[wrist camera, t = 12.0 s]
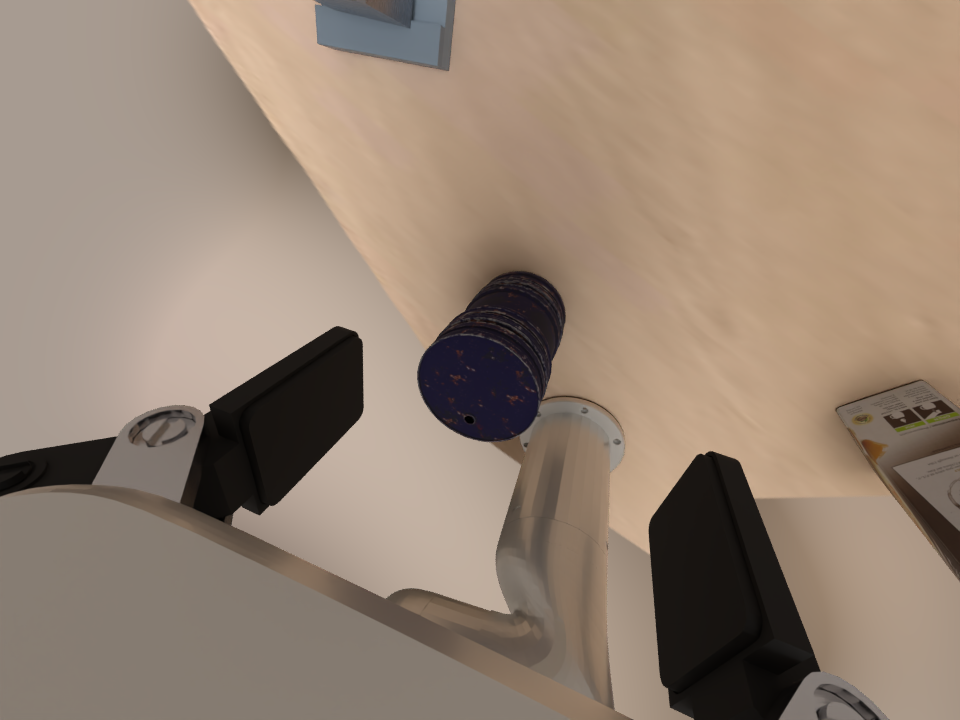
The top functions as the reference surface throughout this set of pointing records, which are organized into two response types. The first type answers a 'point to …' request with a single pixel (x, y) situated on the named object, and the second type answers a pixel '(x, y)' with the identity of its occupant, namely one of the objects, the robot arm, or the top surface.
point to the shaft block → (392, 34)
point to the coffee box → (915, 458)
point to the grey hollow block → (375, 9)
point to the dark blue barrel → (495, 359)
